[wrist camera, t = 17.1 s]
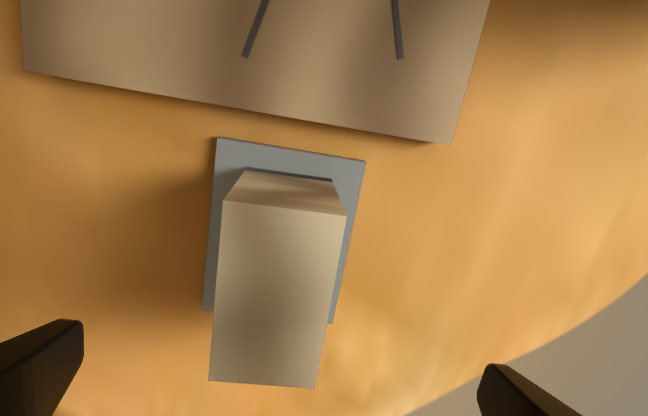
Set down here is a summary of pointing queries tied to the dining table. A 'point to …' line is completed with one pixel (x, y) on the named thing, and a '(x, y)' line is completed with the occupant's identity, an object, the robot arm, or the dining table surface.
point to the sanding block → (275, 278)
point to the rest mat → (244, 154)
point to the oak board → (273, 55)
